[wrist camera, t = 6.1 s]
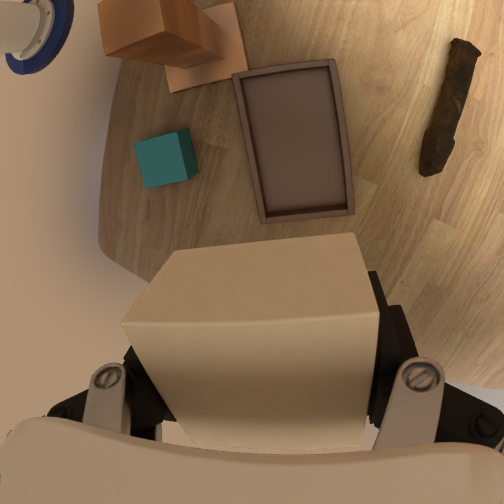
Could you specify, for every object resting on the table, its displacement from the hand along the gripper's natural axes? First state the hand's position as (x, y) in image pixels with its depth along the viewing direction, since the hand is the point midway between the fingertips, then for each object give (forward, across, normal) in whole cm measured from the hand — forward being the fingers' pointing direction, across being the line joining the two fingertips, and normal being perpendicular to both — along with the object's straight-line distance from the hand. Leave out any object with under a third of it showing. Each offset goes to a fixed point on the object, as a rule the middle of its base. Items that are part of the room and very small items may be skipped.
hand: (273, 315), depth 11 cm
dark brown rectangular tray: (+29, -1, -3) cm, 29 cm away
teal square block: (+29, +15, -4) cm, 33 cm away
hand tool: (+29, -21, -6) cm, 36 cm away
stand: (+29, +8, -17) cm, 34 cm away
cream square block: (0, 0, 0) cm, 0 cm away
